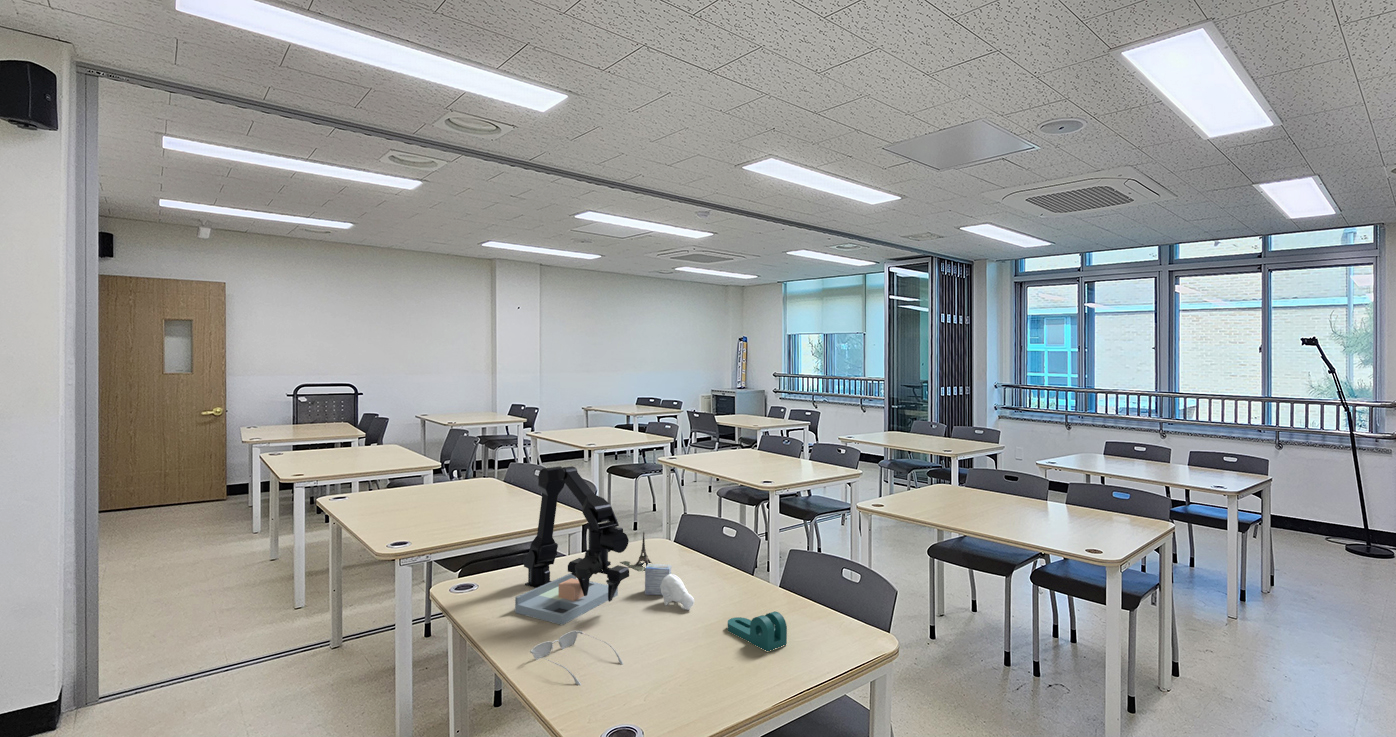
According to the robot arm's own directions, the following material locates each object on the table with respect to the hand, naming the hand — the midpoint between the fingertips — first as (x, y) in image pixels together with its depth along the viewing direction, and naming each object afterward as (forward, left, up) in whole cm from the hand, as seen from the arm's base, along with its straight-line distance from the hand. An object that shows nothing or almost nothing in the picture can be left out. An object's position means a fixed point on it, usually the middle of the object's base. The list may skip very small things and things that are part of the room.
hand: (597, 598), depth 185 cm
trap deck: (-11, 0, -3) cm, 11 cm away
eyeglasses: (+16, -29, -4) cm, 33 cm away
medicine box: (+8, +21, -4) cm, 23 cm away
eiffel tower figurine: (-12, +43, -4) cm, 44 cm away
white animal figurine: (+19, +15, -4) cm, 25 cm away
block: (-9, 0, -1) cm, 9 cm away
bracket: (+47, +6, -4) cm, 48 cm away
